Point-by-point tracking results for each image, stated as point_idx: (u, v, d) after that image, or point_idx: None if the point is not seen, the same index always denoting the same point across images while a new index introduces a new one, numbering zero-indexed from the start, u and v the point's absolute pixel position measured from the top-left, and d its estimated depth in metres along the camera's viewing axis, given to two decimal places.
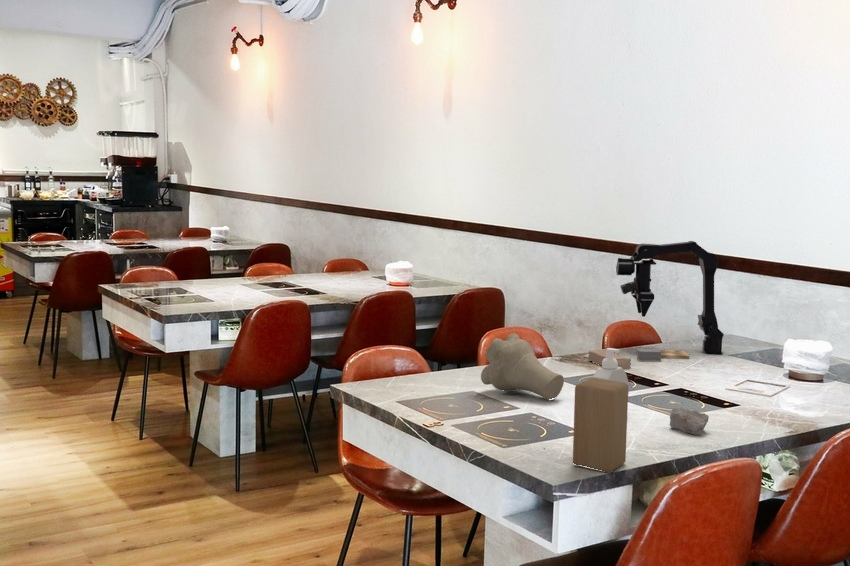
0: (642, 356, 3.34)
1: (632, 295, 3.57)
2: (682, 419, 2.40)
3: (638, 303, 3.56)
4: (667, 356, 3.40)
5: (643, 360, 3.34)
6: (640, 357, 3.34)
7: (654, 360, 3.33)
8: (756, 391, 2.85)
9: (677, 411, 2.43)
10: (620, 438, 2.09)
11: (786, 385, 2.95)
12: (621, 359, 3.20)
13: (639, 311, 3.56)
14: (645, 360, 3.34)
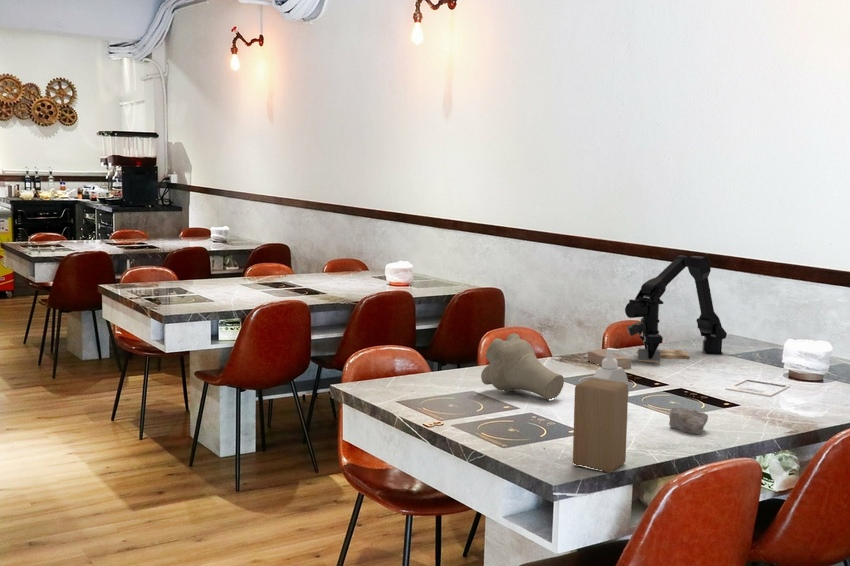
0: (641, 355, 3.34)
1: (640, 337, 3.39)
2: (682, 418, 2.41)
3: (646, 345, 3.38)
4: (667, 356, 3.40)
5: (642, 359, 3.34)
6: (639, 356, 3.34)
7: (653, 360, 3.33)
8: (756, 391, 2.86)
9: (676, 410, 2.44)
10: (620, 438, 2.09)
11: (786, 385, 2.95)
12: (622, 359, 3.20)
13: None
14: (644, 359, 3.34)
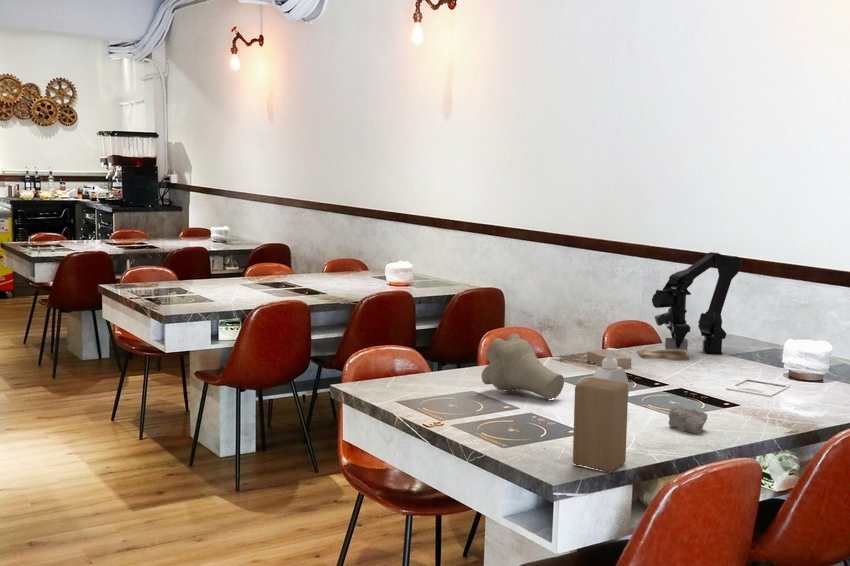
0: (669, 344, 3.43)
1: (667, 327, 3.48)
2: (681, 418, 2.41)
3: (673, 335, 3.47)
4: (667, 356, 3.40)
5: (670, 348, 3.43)
6: (667, 345, 3.43)
7: (681, 348, 3.42)
8: (756, 391, 2.86)
9: (676, 410, 2.44)
10: (620, 438, 2.09)
11: (786, 385, 2.95)
12: (622, 359, 3.20)
13: None
14: (671, 348, 3.43)
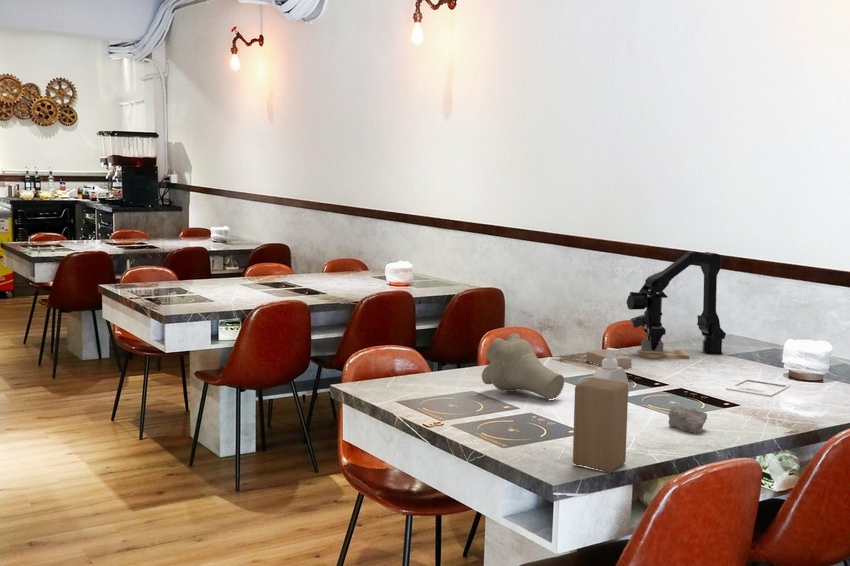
0: (645, 347, 3.43)
1: (643, 329, 3.48)
2: (681, 417, 2.42)
3: (649, 337, 3.48)
4: (667, 356, 3.40)
5: (645, 351, 3.44)
6: (643, 348, 3.44)
7: (656, 351, 3.43)
8: (756, 391, 2.86)
9: (676, 409, 2.45)
10: (620, 438, 2.09)
11: (786, 385, 2.95)
12: (623, 359, 3.20)
13: None
14: (647, 351, 3.44)
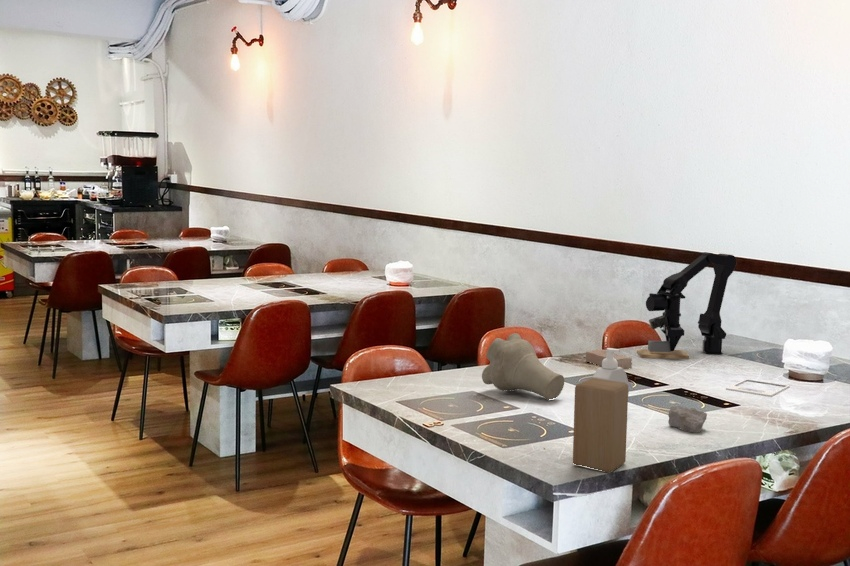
0: (653, 347, 3.43)
1: (661, 330, 3.48)
2: (681, 417, 2.42)
3: (668, 338, 3.47)
4: (667, 356, 3.40)
5: (654, 351, 3.43)
6: (651, 348, 3.43)
7: (664, 351, 3.43)
8: (756, 391, 2.86)
9: (676, 409, 2.45)
10: (620, 438, 2.09)
11: (786, 385, 2.95)
12: (623, 359, 3.20)
13: None
14: (655, 351, 3.43)
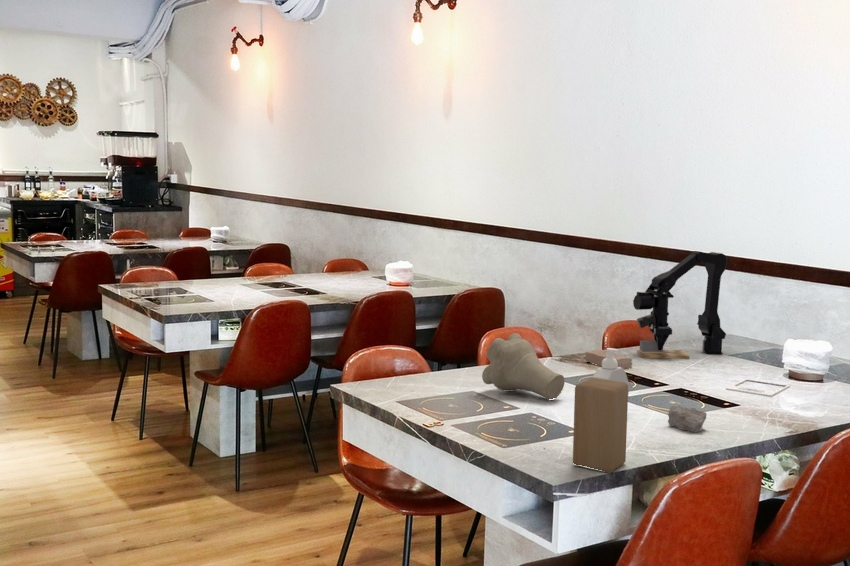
0: (645, 347, 3.43)
1: (649, 329, 3.48)
2: (680, 417, 2.42)
3: (656, 337, 3.48)
4: (667, 356, 3.40)
5: (646, 351, 3.43)
6: (643, 348, 3.43)
7: (656, 351, 3.43)
8: (757, 391, 2.86)
9: (675, 409, 2.45)
10: (620, 438, 2.09)
11: (786, 385, 2.95)
12: (624, 359, 3.20)
13: None
14: (647, 351, 3.43)
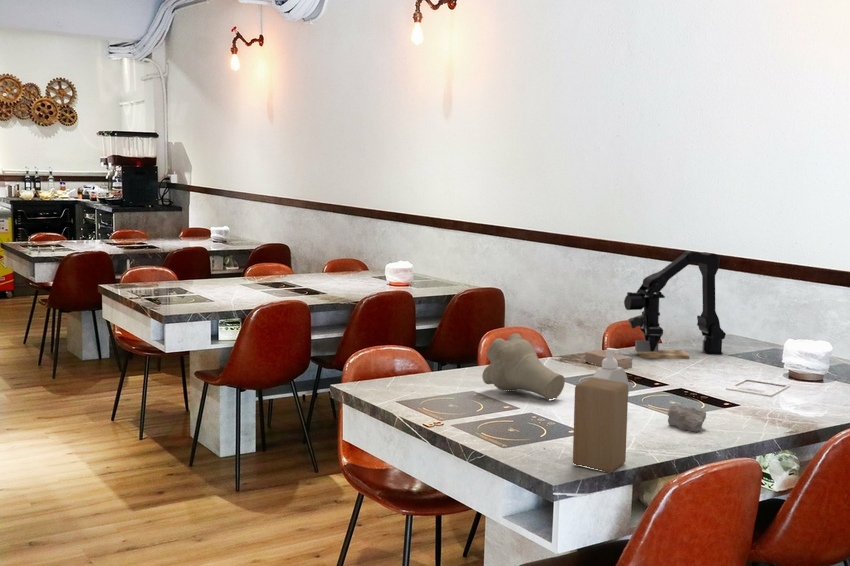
0: (640, 347, 3.43)
1: (640, 328, 3.50)
2: (680, 416, 2.43)
3: (646, 337, 3.50)
4: (667, 356, 3.40)
5: (641, 351, 3.43)
6: (638, 348, 3.43)
7: (652, 351, 3.43)
8: (757, 391, 2.86)
9: (675, 408, 2.46)
10: (620, 438, 2.09)
11: (786, 385, 2.95)
12: (624, 359, 3.20)
13: None
14: (643, 351, 3.43)
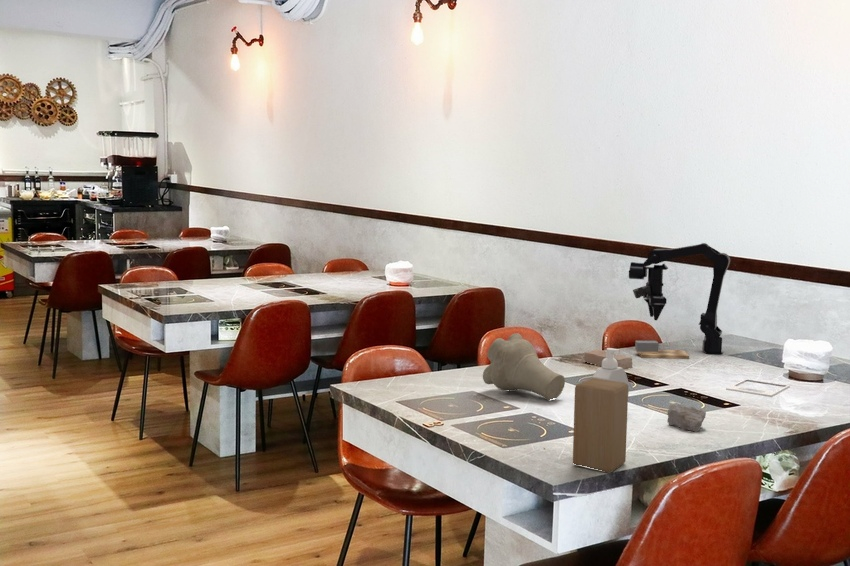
0: (640, 347, 3.43)
1: (644, 299, 3.65)
2: (680, 415, 2.44)
3: (650, 307, 3.64)
4: (667, 356, 3.40)
5: (641, 351, 3.43)
6: (638, 348, 3.43)
7: (652, 351, 3.43)
8: (757, 391, 2.86)
9: (675, 408, 2.47)
10: (620, 438, 2.09)
11: (786, 385, 2.95)
12: (625, 359, 3.20)
13: (651, 315, 3.64)
14: (643, 351, 3.43)
